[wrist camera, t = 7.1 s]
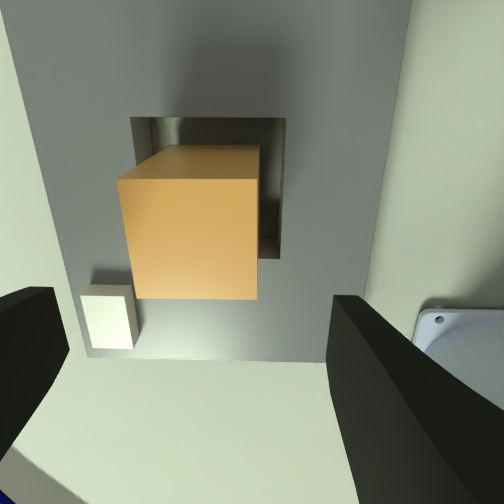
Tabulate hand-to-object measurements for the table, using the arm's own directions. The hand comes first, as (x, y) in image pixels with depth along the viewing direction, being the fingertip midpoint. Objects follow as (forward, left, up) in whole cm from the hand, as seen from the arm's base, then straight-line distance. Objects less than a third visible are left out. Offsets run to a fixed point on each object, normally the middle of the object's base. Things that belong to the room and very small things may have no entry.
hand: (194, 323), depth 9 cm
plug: (0, -1, -9) cm, 9 cm away
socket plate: (0, -2, -9) cm, 9 cm away
